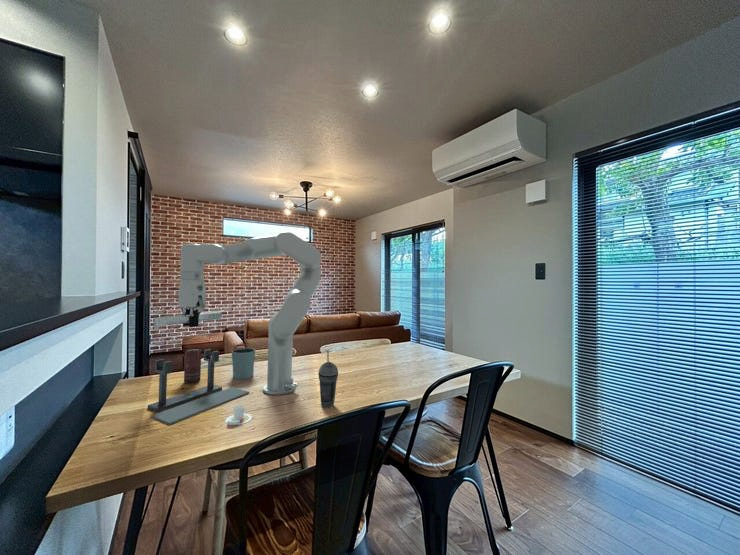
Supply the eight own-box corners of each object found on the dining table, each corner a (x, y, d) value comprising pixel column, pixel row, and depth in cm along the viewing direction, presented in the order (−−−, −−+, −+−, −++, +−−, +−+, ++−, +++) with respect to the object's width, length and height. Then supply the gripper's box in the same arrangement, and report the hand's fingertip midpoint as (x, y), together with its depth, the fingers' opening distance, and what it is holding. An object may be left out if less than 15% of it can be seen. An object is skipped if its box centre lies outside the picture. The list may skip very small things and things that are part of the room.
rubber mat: (249, 393, 119) (249, 391, 119) (169, 424, 92) (169, 423, 92) (231, 388, 123) (231, 387, 123) (151, 417, 96) (151, 415, 96)
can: (193, 384, 126) (194, 351, 126) (180, 383, 128) (181, 350, 128) (204, 380, 132) (205, 348, 132) (191, 378, 134) (192, 347, 134)
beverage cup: (320, 411, 104) (322, 353, 104) (314, 403, 111) (316, 348, 111) (340, 407, 107) (342, 351, 108) (333, 400, 114) (334, 347, 114)
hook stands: (222, 389, 121) (223, 350, 121) (157, 412, 100) (159, 364, 100) (212, 387, 124) (213, 348, 124) (147, 408, 103) (149, 361, 103)
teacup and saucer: (232, 430, 91) (233, 416, 91) (217, 422, 95) (218, 409, 95) (257, 419, 98) (257, 406, 98) (242, 412, 102) (242, 400, 102)
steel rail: (217, 318, 124) (217, 311, 124) (222, 319, 122) (222, 311, 122) (153, 326, 102) (153, 317, 102) (158, 326, 101) (158, 317, 101)
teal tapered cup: (249, 380, 134) (249, 353, 134) (226, 379, 134) (227, 352, 134) (257, 373, 144) (258, 348, 144) (236, 372, 144) (237, 347, 144)
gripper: (215, 277, 112) (214, 327, 112) (188, 276, 119) (187, 323, 119) (196, 277, 105) (194, 329, 105) (168, 276, 113) (167, 325, 113)
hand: (190, 325), depth 112 cm, fingers closed on steel rail, 3 cm apart
